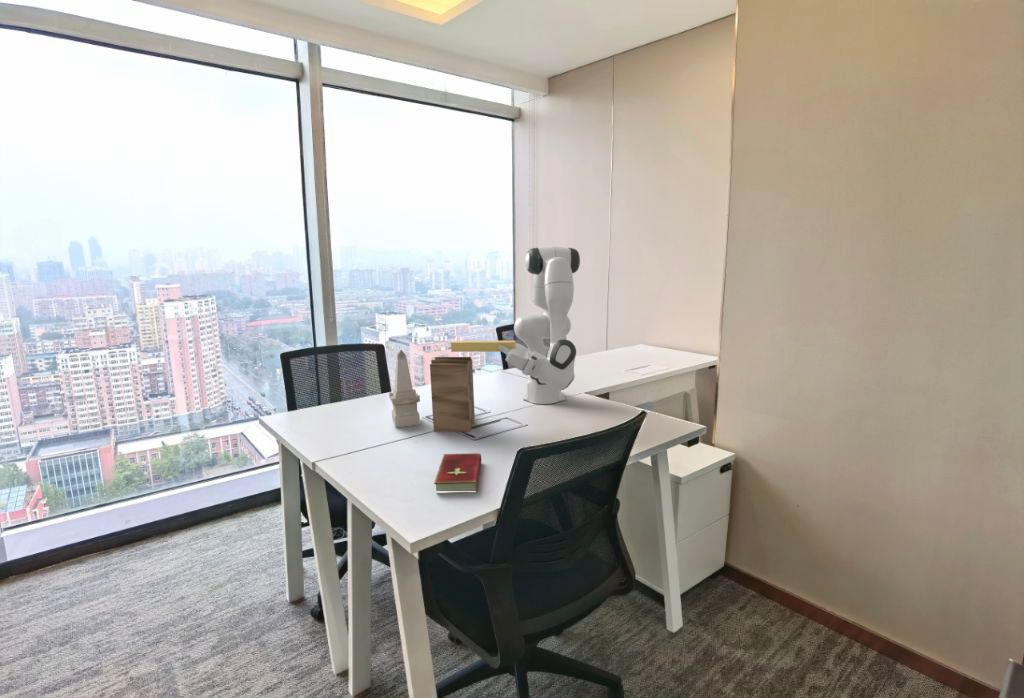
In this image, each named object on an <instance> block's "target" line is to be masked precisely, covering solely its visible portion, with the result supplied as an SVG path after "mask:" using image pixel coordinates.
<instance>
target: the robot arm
mask: <svg viewBox="0 0 1024 698" xmlns="http://www.w3.org/2000/svg"><path fill="white" fill-rule="evenodd" d="M524 264H525V267H526V270H527V272H528V273H529V274H533V280H532V295H531V300H532V303H533V304H534V305H535V306H537V307H538V308H540V309H541V310H543V313H540V314H538V313H537V314H528V315H527V314H526V315H524V316H523V315H522V316H519V317H518V318H517V319H516V320H515V322H514V325H513V330H514V334H515V336H516V337H517V338H518V339H519V340H521V342H523V343H524V344H525V345H526V347H525V346H524V345H522V344H520V343H518V342H516V348H515V349H514V348H512V349H511V350H510V349H508V348H506V347H505V346H504V345H502V344H500V345H499V347H498V349H499V350H501V351H502V353H503V354H505V355H506V358H505V362H507V363H508V364H510V365H511V366H513V367H514V368H515V369H517V370H519V371H521V373H522V374H523V375H524V376H530V377H529V378H530V379H528V381H527V382H526V394H525V395H524V396H523V398H522V400H523V401H526V402H529V403H532V404H536V405H550V404H557V403H558V402H563V401H565V400H566V398H565V396H564V395H563V392H562V391H563V390H565V389H567V388H569V386H570V385H571V384H572V382H573V381H574V379H575V377H576V375H575V361H576V355H577V348H576V345H574V343H573V342H572V341H570V340H568V339H567V336H568V334H569V333H570V332H571V328H572V321H571V320H570V318H569V316H568V315H569V312H570V309H571V307H572V305H573V301H574V291H575V289H574V287H575V285H574V277H573V274H575V273H576V272H578V270H579V268H580V264H581V257H580V253H579V251H578V249H576V248H573V247H563V246H552V247H551V246H549V247H532V248H530V249H528V251H526V256H525V258H524ZM547 339H549V346H546V345H545V343H544V340H547Z"/></svg>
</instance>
